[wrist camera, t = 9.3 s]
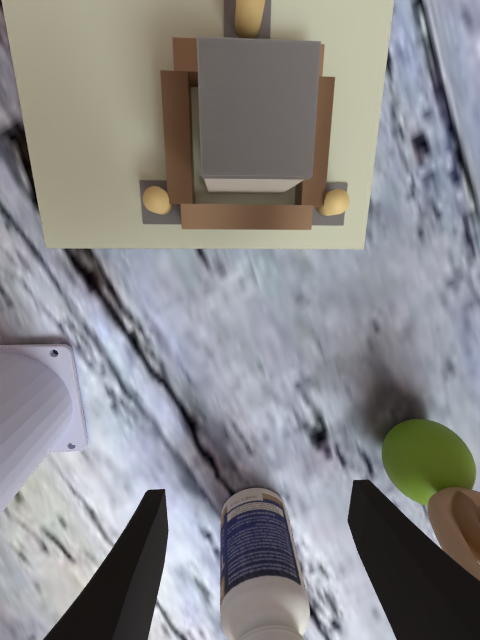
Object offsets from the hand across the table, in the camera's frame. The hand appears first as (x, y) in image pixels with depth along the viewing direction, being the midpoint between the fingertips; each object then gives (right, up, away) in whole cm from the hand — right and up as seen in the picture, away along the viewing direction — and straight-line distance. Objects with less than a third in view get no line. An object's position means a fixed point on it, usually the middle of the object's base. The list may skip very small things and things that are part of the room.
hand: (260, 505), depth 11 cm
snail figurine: (+11, -2, +12) cm, 16 cm away
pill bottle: (0, -9, +13) cm, 16 cm away
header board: (-3, +17, +5) cm, 18 cm away
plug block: (-1, +16, +4) cm, 16 cm away
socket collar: (0, +16, +4) cm, 16 cm away
